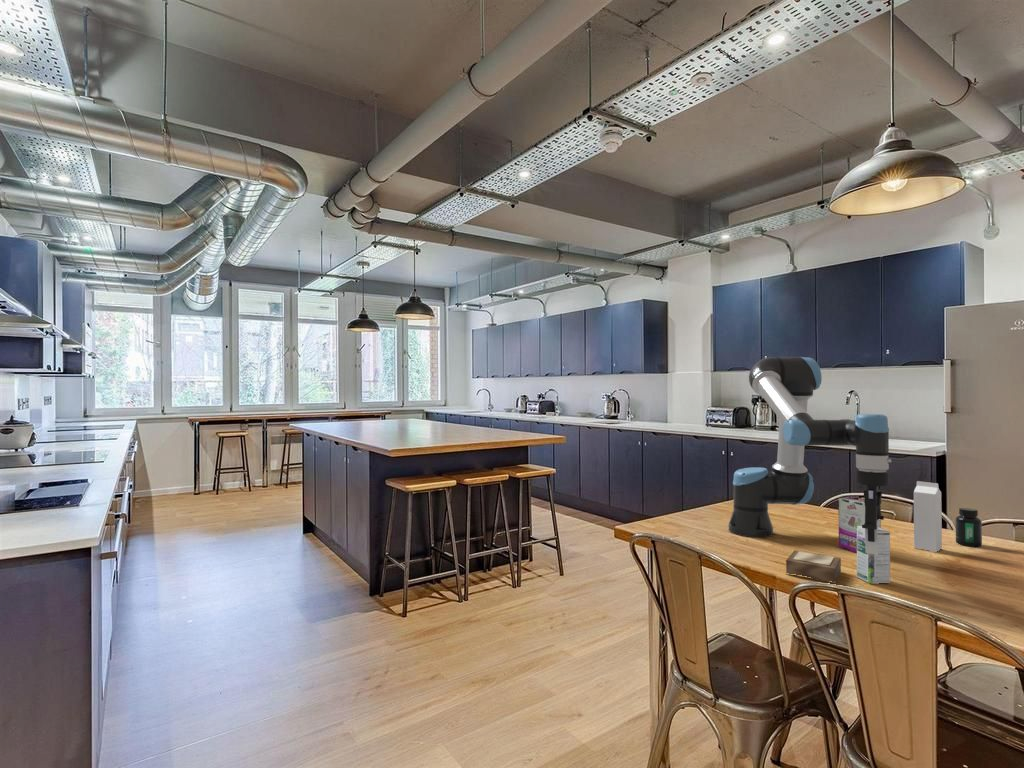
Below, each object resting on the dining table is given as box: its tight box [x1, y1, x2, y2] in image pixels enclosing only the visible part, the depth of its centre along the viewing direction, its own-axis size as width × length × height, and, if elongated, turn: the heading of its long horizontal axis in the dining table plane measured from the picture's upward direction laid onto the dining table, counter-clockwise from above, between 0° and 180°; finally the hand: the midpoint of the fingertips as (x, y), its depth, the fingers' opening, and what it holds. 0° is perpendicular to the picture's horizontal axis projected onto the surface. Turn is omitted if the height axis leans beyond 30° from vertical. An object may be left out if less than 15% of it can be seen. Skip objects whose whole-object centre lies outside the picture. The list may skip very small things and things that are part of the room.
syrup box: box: [856, 526, 891, 585], centre depth 149 cm, size 6×6×14 cm
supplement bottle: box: [955, 507, 983, 548], centre depth 184 cm, size 7×7×12 cm
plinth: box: [785, 550, 842, 582], centre depth 155 cm, size 12×12×4 cm
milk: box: [913, 480, 943, 553], centre depth 179 cm, size 6×6×22 cm
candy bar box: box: [838, 497, 880, 554], centre depth 176 cm, size 11×5×16 cm, turn 14°
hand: (873, 548), depth 149 cm, fingers open, 13 cm apart
